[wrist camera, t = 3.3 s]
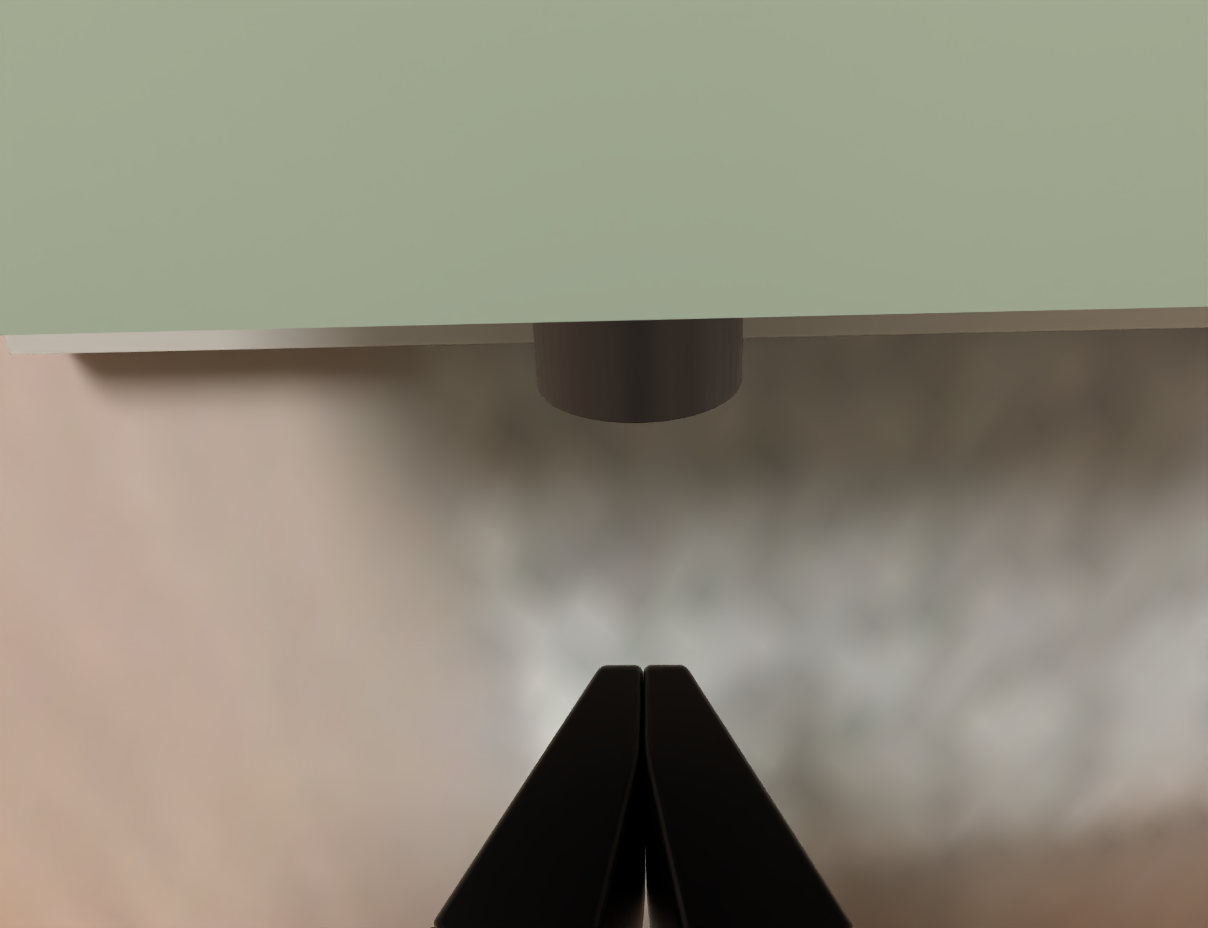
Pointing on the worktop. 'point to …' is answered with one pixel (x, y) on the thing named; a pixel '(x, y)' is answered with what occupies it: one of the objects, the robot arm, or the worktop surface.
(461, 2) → the green block
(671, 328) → the board
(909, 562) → the worktop surface
